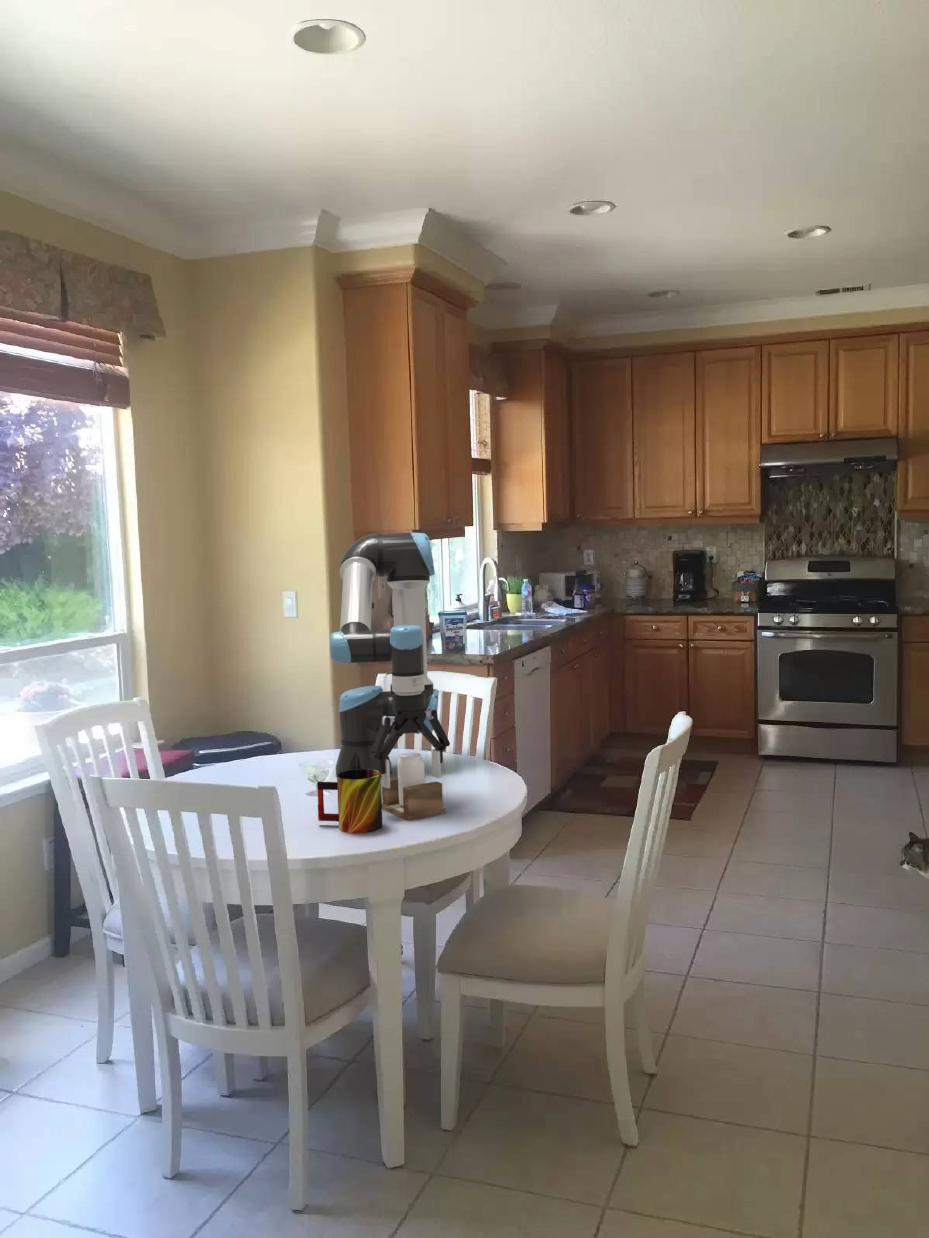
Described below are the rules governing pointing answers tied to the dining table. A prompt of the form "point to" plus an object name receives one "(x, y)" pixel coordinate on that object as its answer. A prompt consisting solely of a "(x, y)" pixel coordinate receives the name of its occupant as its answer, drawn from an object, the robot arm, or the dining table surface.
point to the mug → (354, 801)
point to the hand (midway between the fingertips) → (411, 782)
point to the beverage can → (410, 772)
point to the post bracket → (413, 800)
